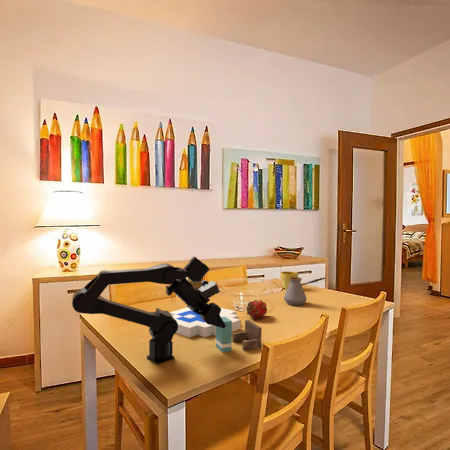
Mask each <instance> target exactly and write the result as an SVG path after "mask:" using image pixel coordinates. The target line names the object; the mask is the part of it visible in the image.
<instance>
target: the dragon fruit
mask: <svg viewBox="0 0 450 450" xmlns="http://www.w3.org/2000/svg"><path fill="white" fill-rule="evenodd" d="M267 312H268V308H267V303H266V302H264V301H263V300H262V299H259V300H257V299H255V300H253V301H249V302H248V303H247V306H246V314H247V315H249V317H250V318H252V319H253V320H255V319H257V318H258V319H261V320H262V319H263V318H265V315H266V314H267Z"/></svg>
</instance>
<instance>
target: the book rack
mask: <svg viewBox="0 0 450 450" xmlns="http://www.w3.org/2000/svg"><path fill="white" fill-rule="evenodd" d="M245 340H246V341H245ZM240 342H242V351H243V350H244V352H247V351H246V350H248V351H253V350H252V349H254V350H258V349H257V348H260V349H262V327H261V326H260V325H258V324H256V323H254V322H253V321H252V320H250V319H245V320H244V331H238V332H232V343H240Z"/></svg>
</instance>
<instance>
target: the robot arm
mask: <svg viewBox="0 0 450 450" xmlns="http://www.w3.org/2000/svg"><path fill="white" fill-rule="evenodd" d="M210 270H211V269H210V267H209V266H207V265H206V264H205V263H204V262H202V261H201V260H200V259H198V257H197V256H195V255H194V256H192V257H191V259H189V261H188V263H186V265H185V266H184V267H180V266H179V267H178V266H173V265H172V264H169V263H167V262H166V263H165V262H164V263H160V264H155V265H151V266H150V267H145V268H133V269H131V268H129V269H117V270H116V269H115V270H106V269H105V270H101V271H99V273H97V275H96V276H95V277H94V278H93V279H91V280H90V281H89V282H88V283H87V284H86V285H85V286H84V287H81V288H79V289H77V290H76V291H74V293H73V294H72V298H71V300H72V301H71V304H72V305H71V306H72V307H73V310H74V311H75V312H76V313H80V314H87V315H101V314H102V315H107V316H109V317H113V318H117V319H119V320H124V321H127V322H131V323H134V324H137V325H138V324H139V325H142V326H144V327H147V328H149V329H148V332H149V335H150V336H151V337H152V338H150V339H149V340H148V344H149V346H148V347H149V348H148V349H149V353H148V354H149V355H146V359H147V360H150V361H151V362H153V363H154V364H162V363H165V362H168V361H171V360H173V359H175V355H173V348H174V345H173V343H174V342H173V341H172V340H173V338H174V335H175V334H177V333H176V332H177V330H178V323H177V321H176V320H175V319H174V318H173V316H172V315H171V314H170V312H169V310H163V309H161V308H158V307H156V308H155V311H147V310H144V309H140V308H136V307H132V306H131V305H130V306H129V305H126V304H124V303H121V302H120V303H119V302H117V301H113V300H110V299H107V298H105V297H103V296H102V295H101V294H102V293H103V292H104V291H105V290H106V288H107V287H108V286H111V285H122V284H123V285H124V284H134V283H135V284H137V283H153V284H158V285H159V284H160V285H165V294H166V295H167V296H171V295H172V294H175V295H176V296H177V297H178V298H179V299H180V300H181V301H182V302H183V303H184V304H185V305H186V308H187V307H188V308H189V309H190V310H192V311H193V312H194V313H196V314H199V315H201V319H202V320H203V321H205V322H206V323H207V324H209V325H214V326H217V327H221V328H225V327H226V325H225V323H224V322H223V320H222V318H221V317H220V312H221V308H222V307H220V306H219V305H218V304H216V303H215V302H209V301H211V299H210V298H212V297H214V296H215V295H218V294H220V292H221V290H220V288H219V286H218V284H217V282H215V281H213V280H212V281H207V280H205V279H203V278H204V277H205V276H206V275H207V274H208V273H209V271H210ZM202 279H203V280H202ZM189 280H190V281H189ZM201 280H202V281H201ZM200 281H201V282H200ZM191 282H192V283H191ZM199 282H200V286H199V288H197V287H196V286H194V285H193V284H194V283H199Z"/></svg>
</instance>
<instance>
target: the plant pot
mask: <svg viewBox="0 0 450 450" xmlns="http://www.w3.org/2000/svg"><path fill="white" fill-rule="evenodd" d="M290 277H298V278H299V272H296V271H289V270H286V271H285V270H283V271H280V279H281V283H282V284H281V285H282V288H283V287H284V288H285V289H284V290H286V291H287V288H288V286H289V284H290V279H289V278H290Z"/></svg>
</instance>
